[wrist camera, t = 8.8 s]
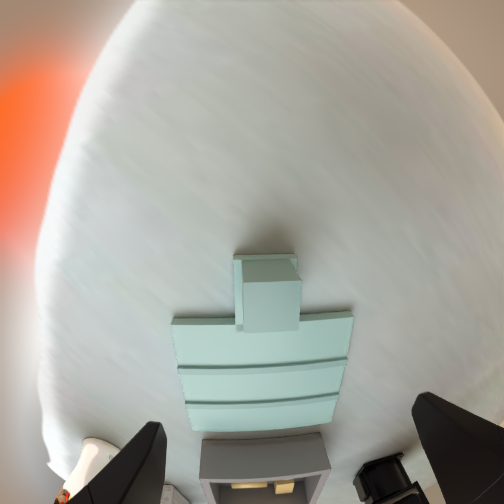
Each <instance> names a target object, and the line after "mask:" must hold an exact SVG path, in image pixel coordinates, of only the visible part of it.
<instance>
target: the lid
mask: <svg viewBox="0 0 504 504" xmlns="http://www.w3.org/2000/svg"><path fill="white" fill-rule="evenodd" d="M233 269H234V299H235V318H173V320H172V322H171V331H172V337H173V343H174V349H175V354H176V360H177V365H178V367H177V370H178V374H179V375H180V380H181V384H182V389H183V394H184V398H185V407H186V409H187V411H188V415H189V419H190V423H191V427H192V431H211V432H232V431H259V430H274V429H285V428H294V427H303V426H310V425H317V424H324V423H330V422H331V419H332V415H333V411H334V408H335V404H336V400H337V399H338V398H339V393H338V392H339V388H340V384H341V380H342V375H343V371H344V366H345V365H347V360H348V359H347V352H348V347H349V342H350V336H351V331H352V325H353V319H354V316H353V315H352V314H351V313H350V311H341V312H329V313H316V314H302V315H300V304H301V288H302V280H301V278H300V277H299V275H298V273H297V257H296V256H295V254H262V255H233Z"/></svg>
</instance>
